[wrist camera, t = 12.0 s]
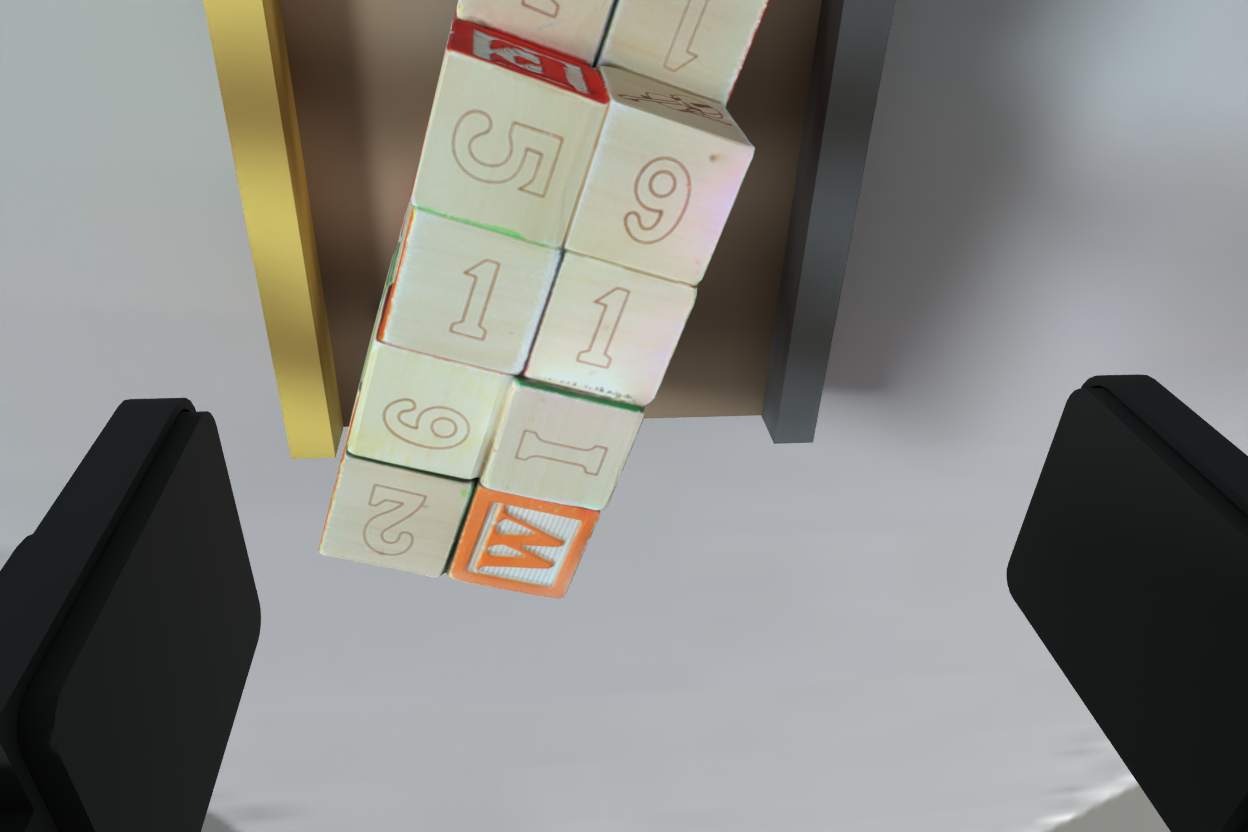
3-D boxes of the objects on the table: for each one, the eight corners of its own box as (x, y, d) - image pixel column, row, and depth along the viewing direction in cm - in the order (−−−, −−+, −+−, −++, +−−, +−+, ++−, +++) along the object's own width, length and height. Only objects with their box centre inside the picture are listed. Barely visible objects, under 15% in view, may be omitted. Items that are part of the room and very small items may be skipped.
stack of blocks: (568, -442, 21) (631, -704, 11) (798, -318, 23) (1037, -447, 13) (373, 327, 31) (311, 564, 21) (543, 372, 33) (563, 610, 23)
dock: (173, -475, 22) (98, -548, 18) (899, -412, 25) (981, -464, 20) (315, 386, 36) (291, 458, 32) (778, 376, 38) (812, 442, 34)
